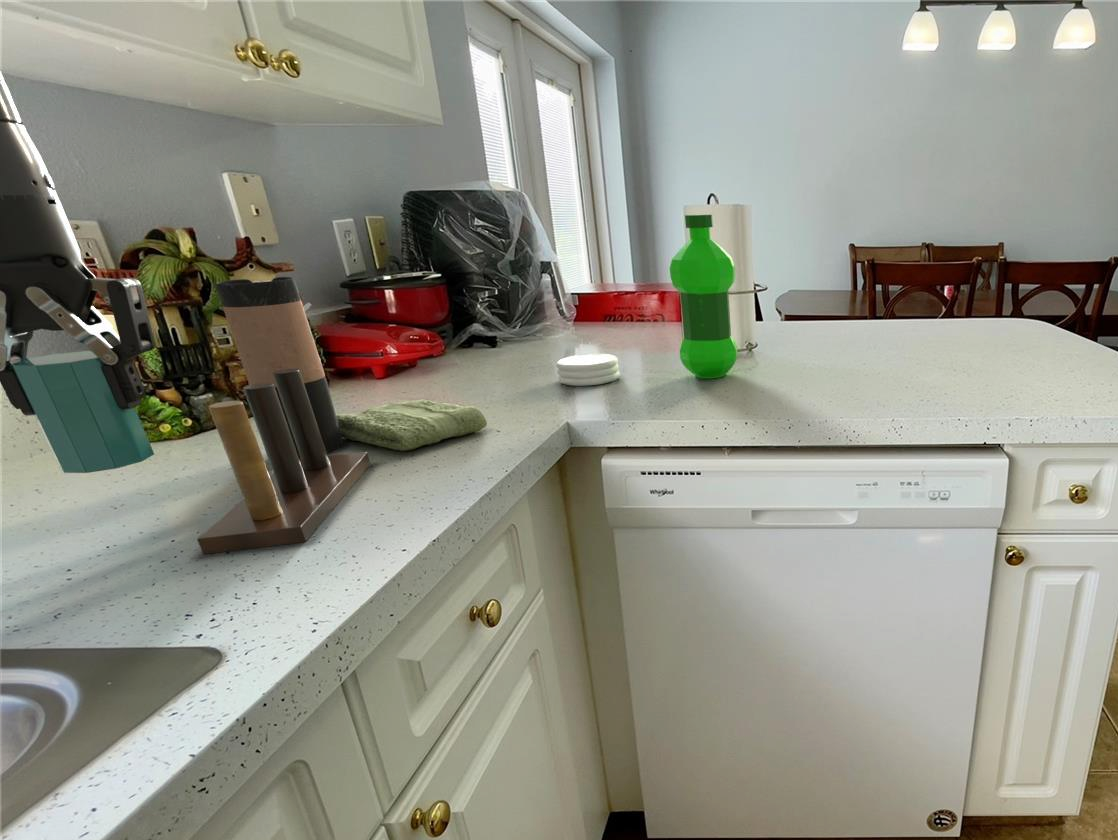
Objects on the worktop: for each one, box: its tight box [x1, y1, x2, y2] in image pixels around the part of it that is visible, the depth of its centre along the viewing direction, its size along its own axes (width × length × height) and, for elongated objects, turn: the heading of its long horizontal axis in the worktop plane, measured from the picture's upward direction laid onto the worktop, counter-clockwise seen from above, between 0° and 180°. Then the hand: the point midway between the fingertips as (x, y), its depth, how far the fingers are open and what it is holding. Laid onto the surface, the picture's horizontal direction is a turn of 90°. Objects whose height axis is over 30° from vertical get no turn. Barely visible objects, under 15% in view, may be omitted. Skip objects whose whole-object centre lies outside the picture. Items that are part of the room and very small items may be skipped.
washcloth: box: [336, 399, 488, 452], centre depth 93 cm, size 13×18×3 cm
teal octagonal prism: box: [10, 350, 155, 474], centre depth 60 cm, size 6×6×9 cm
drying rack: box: [196, 369, 372, 555], centre depth 70 cm, size 8×22×12 cm, turn 15°
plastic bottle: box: [669, 214, 739, 379], centre depth 116 cm, size 10×10×25 cm
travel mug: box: [214, 276, 344, 458], centre depth 85 cm, size 8×8×20 cm
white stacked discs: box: [555, 353, 621, 387], centre depth 119 cm, size 10×10×4 cm
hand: (85, 409), depth 60 cm, fingers closed on teal octagonal prism, 6 cm apart
